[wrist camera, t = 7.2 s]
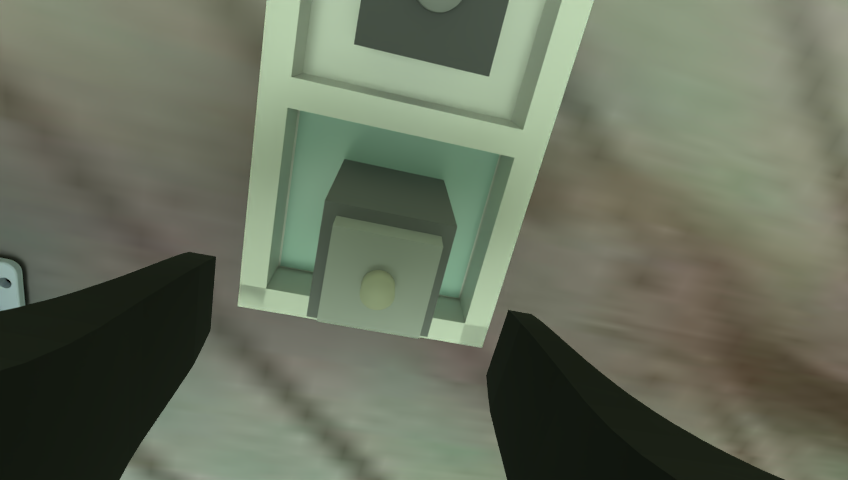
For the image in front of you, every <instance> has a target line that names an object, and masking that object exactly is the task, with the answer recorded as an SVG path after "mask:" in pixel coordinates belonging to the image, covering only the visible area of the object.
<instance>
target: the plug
mask: <svg viewBox="0 0 848 480" xmlns="http://www.w3.org/2000/svg"><path fill="white" fill-rule="evenodd" d="M508 3H509V0H361V3H360V9H359V15H358V21H357V28H356V34H355V40H354V45H359V46H363V47H367V48H371V49H375V50H379V51H384V52H388V53H392V54H396V55H400V56H404V57H409V58H413V59H417V60H421V61H425V62H429V63H434V64H438V65H442V66H446V67H450V68H454V69H458V70H463V71H467V72H471V73H475V74H479V75H483V76H488V77H489V75H490V71H491V67H492V63H493V59H494V56H495V52H496V48H497V44H498V41H499V37H500V33H501V29H502V25H503V22H504V18H505V14H506V10H507V6H508Z"/></svg>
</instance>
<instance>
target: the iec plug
mask: <svg viewBox="0 0 848 480" xmlns="http://www.w3.org/2000/svg"><path fill="white" fill-rule="evenodd" d="M456 230H457V224H456V220H455V217H454V213H453V210H452V206H451V203H450V199H449V196H448V192H447V189H446V185H445V182H444V180H441V179H437V178H432V177H427V176H423V175H418V174H413V173H408V172H404V171H399V170H394V169H390V168H385V167H380V166H375V165H371V164H366V163H361V162H357V161H352V160H347V159H344V161H343V163H342V165H341V167H340V169H339V171H338V174H337V176H336V178H335V180H334V182H333V184H332V186H331V188H330V190H329V192H328V195H327V197H326V199H325V202H324V209H323V215H322V221H321V227H320V234H319V240H318V246H317V253H316V259H315V265H314V271H313V278H312V284H311V290H310V297H309V303H308V309H307V315H306V316H307V317H313V318H317V322H323V323H329V324H335V325H341V326H347V327H353V328H359V329H364V330H370V331H376V332H382V333H388V334H394V335H400V336H405V337H411V338H417V339H419V337H420V336H424V337H428V333H429V329H430V326H431V322H432V318H433V315H434V311H435V307H436V304H437V300H438V296H439V293H440V289H441V285H442V282H443V278H444V274H445V271H446V267H447V263H448V260H449V256H450V252H451V248H452V245H453V241H454V237H455V234H456Z"/></svg>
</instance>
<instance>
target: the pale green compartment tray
mask: <svg viewBox="0 0 848 480" xmlns="http://www.w3.org/2000/svg"><path fill="white" fill-rule="evenodd" d="M593 2H594V0H509V3H508V6H507V10H506V14H505V18H504V22H503V25H502V29H501V33H500V37H499V41H498V44H497V48H496V52H495V56H494V59H493V63H492V67H491V71H490V75H489V77H488V76H483V75H479V74H475V73H471V72H467V71H463V70H458V69H454V68H450V67H446V66H442V65H438V64H434V63H429V62H425V61H421V60H417V59H413V58H409V57H404V56H400V55H396V54H392V53H388V52H384V51H379V50H375V49H371V48H367V47H363V46H359V45H354V40H355V34H356V28H357V21H358V15H359V9H360V3H361V0H267V4H266V14H265V25H264V35H263V46H262V56H261V67H260V77H259V88H258V98H257V109H256V119H255V130H254V140H253V150H252V161H251V171H250V182H249V192H248V203H247V213H246V224H245V234H244V245H243V255H242V266H241V276H240V287H239V297H238V306H240V307H245V308H251V309H257V310H263V311H269V312H275V313H281V314H287V315H293V316H299V317H304V318H310V319H316V320H317V318H313V317H307V316H306V315H307V309H308V303H309V297H310V290H311V284H312V278H313V271H314V265H315V259H316V253H317V246H318V240H319V234H320V227H321V221H322V215H323V209H324V202H325V199H326V197H327V195H328V192H329V190H330V188H331V186H332V184H333V182H334V180H335V178H336V176H337V174H338V171H339V169H340V167H341V165H342V163H343V161H344V159H347V160H352V161H357V162H361V163H366V164H371V165H375V166H380V167H385V168H390V169H394V170H399V171H404V172H408V173H413V174H418V175H423V176H427V177H432V178H437V179H441V180H444V182H445V185H446V189H447V192H448V196H449V199H450V203H451V206H452V210H453V213H454V217H455V220H456V224H457V230H456V234H455V237H454V241H453V245H452V248H451V252H450V256H449V260H448V263H447V267H446V271H445V274H444V278H443V282H442V285H441V289H440V293H439V296H438V300H437V304H436V307H435V311H434V315H433V318H432V322H431V326H430V329H429V333H428V337H424V336H420V337H422V338H428V339H434V340H440V341H446V342H452V343H458V344H464V345H469V346H475V347H481V348H482V346H483V343H484V340H485V337H486V334H487V331H488V327H489V324H490V321H491V318H492V315H493V312H494V309H495V306H496V303H497V300H498V296H499V293H500V290H501V287H502V284H503V281H504V278H505V275H506V272H507V268H508V265H509V262H510V259H511V256H512V253H513V250H514V247H515V244H516V241H517V237H518V234H519V231H520V228H521V225H522V222H523V219H524V216H525V213H526V210H527V206H528V203H529V200H530V197H531V194H532V191H533V188H534V185H535V182H536V179H537V175H538V172H539V169H540V166H541V163H542V160H543V157H544V154H545V151H546V148H547V144H548V141H549V138H550V135H551V132H552V129H553V126H554V123H555V120H556V116H557V113H558V110H559V107H560V104H561V101H562V98H563V95H564V92H565V89H566V85H567V82H568V79H569V76H570V73H571V70H572V67H573V64H574V61H575V58H576V54H577V51H578V48H579V45H580V42H581V39H582V36H583V33H584V30H585V27H586V23H587V20H588V17H589V14H590V11H591V8H592V5H593Z"/></svg>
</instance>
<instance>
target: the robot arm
mask: <svg viewBox="0 0 848 480" xmlns="http://www.w3.org/2000/svg"><path fill="white" fill-rule="evenodd" d="M215 262H216V257H214V256H209V255H203V254H198V253H192V252H187V253H183V254H180V255H177V256H174V257H171V258H169V259H166V260H163V261H161V262H158V263H155V264H153V265H150V266H148V267H145V268H142V269H140V270H137V271H134V272H132V273H129V274H126V275H124V276H121V277H118V278H116V279H113V280H110V281H107V282H104V283H101V284H98V285H95V286H92V287H89V288H86V289H83V290H80V291H77V292H74V293H70V294H67V295H63V296H60V297H56V298H53V299H49V300H45V301H41V302H37V303H33V304H29V305H25V297H24V286H23V275H22V269H21V267H20V266H19V264H18V263H16V262H15V261H13V260H10V259H5V258H0V480H120V478H121V476H122V474H123V472H124V470H125V468H126V467H127V465H128V463H129V461H130V460H131V458H132V456H133V455H134V453H135V451H136V450H137V448H138V447H139V445H140V443H141V442H142V440H143V439H144V437H145V436H146V435H147V433H148V432H149V430H150V429H151V427H152V426H153V424H154V423H155V421H156V420H157V418H158V417H159V415H160V414H161V412H162V411H163V410H164V408H165V407H166V405H167V404H168V402H169V401H170V399H171V398H172V396H173V395H174V393H175V392H176V390H177V389H178V387H179V386H180V384H181V383H182V381H183V380H184V379H185V377H186V376H187V374H188V373H189V371H190V369H191V368H192V366H193V365H194V363H195V361H196V359H197V357H198V355H199V353H200V351H201V349H202V347H203V345H204V343H205V340H206V338H207V336H208V334H209V332H210V328H211V315H212V301H213V288H214V275H215ZM6 278H7V279H9V280H10V281H11V283H9V282H7V281H6ZM486 376H487V388H488V398H489V406H490V413H491V417H492V421H493V425H494V430H495V434H496V438H497V442H498V446H499V449H500V453H501V457H502V461H503V465H504V469H505V473H506V477H507V480H784V479H782V478H779V477H777V476H775V475H772V474H770V473H767V472H765V471H763V470H761V469H759V468H756V467H754V466H752V465H750V464H748V463H746V462H744V461H742V460H740V459H738V458H736V457H734V456H732V455H730V454H728V453H726V452H724V451H722V450H720V449H718V448H716V447H714V446H712V445H710V444H709V443H707V442H705V441H703V440H701V439H699V438H698V437H696V436H694V435H692V434H691V433H689V432H687V431H686V430H684V429H682V428H680V427H679V426H677V425H675V424H673V423H672V422H670V421H669V420H667V419H665V418H664V417H662V416H660V415H659V414H657V413H656V412H654V411H653V410H651V409H650V408H648V407H647V406H645V405H644V404H643V403H641V402H640V401H638V400H637V399H635V398H634V397H632V396H631V395H629V394H628V393H627V392H625V391H624V390H623V389H621V388H620V387H619V386H617V385H616V384H615V383H613V382H612V381H611V380H610V379H608V378H607V377H606V376H605V375H603V374H602V373H601V372H599V371H598V370H597V369H596V368H595V367H593V366H592V365H591V364H590V363H589V362H587V361H586V360H585V359H584V358H583V357H582V356H580V355H579V354H578V353H577V352H576V351H575V350H574V349H572V348H571V347H570V346H569V345H568V344H567V343H566V342H564V341H563V340H562V339H561V338H560V337H559V336H558V335H557V334H555V333H554V332H553V331H552V330H551V329H550V328H549V327H547V326H546V325H545V324H544V323H543V322H541V321H540V320H539V319H538V318H536V317H535V316H533V315H532V314H527V313H522V312H516V311H511V310H508V313H507V316H506V319H505V322H504V325H503V328H502V331H501V334H500V337H499V340H498V343H497V346H496V349H495V351H494V354H493V357H492V360H491V363H490V366H489V369H488V372H487V375H486Z"/></svg>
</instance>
